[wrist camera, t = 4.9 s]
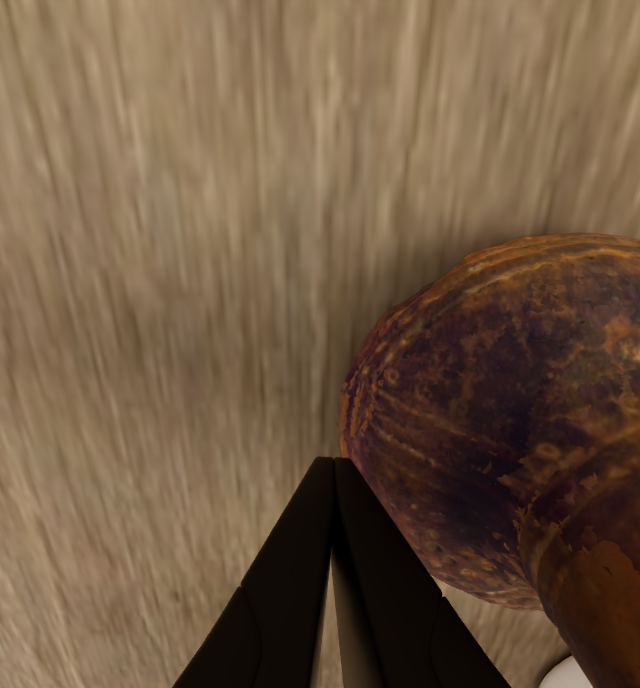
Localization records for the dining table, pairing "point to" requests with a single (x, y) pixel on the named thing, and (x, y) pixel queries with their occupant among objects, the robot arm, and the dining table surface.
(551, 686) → the jar
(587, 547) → the brown clay pot
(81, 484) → the dining table surface
